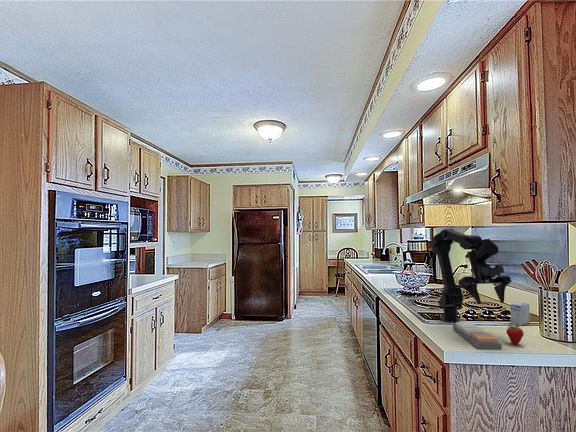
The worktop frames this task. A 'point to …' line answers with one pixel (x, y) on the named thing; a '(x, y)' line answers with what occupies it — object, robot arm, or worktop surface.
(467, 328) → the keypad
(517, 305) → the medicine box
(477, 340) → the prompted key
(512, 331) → the fruit
